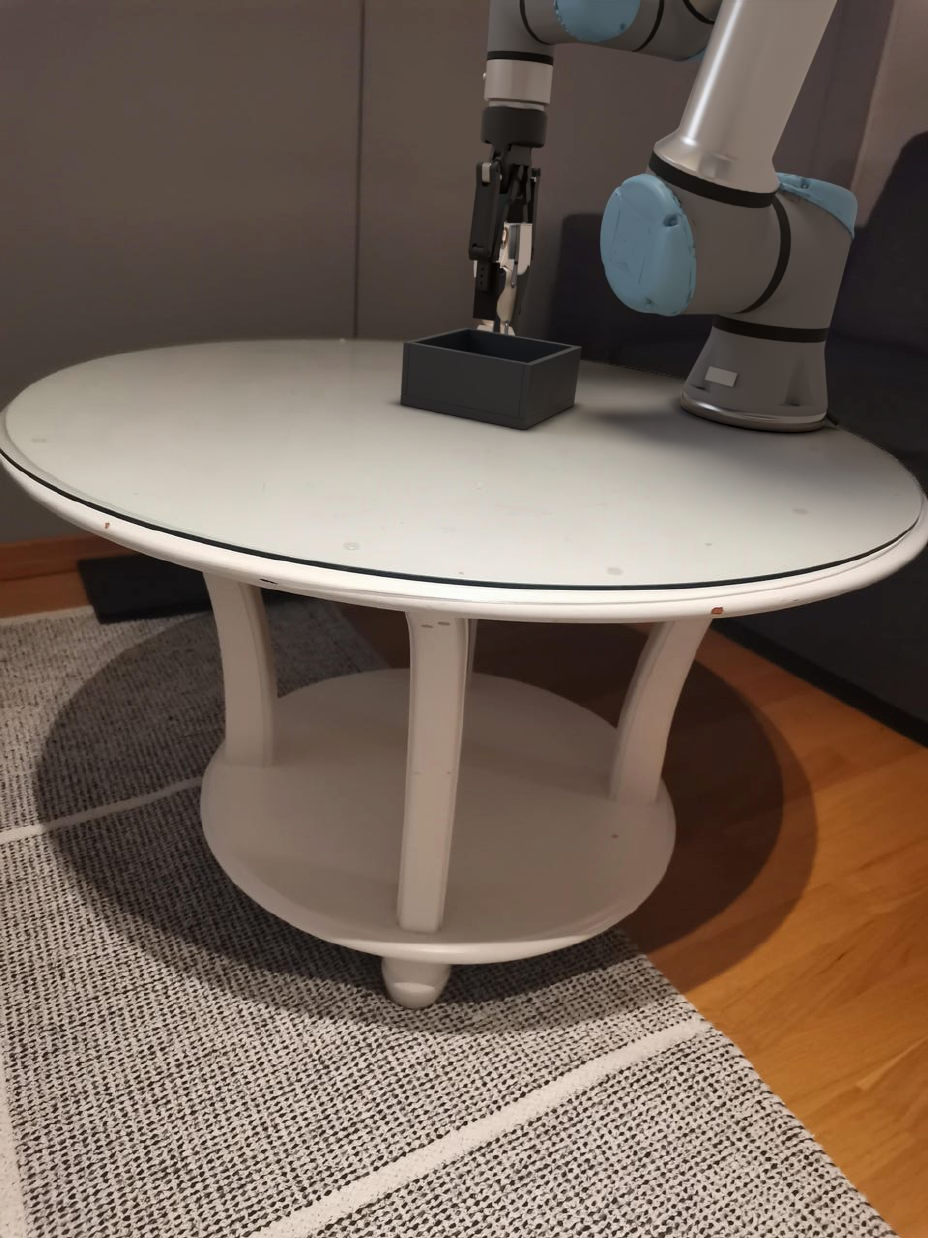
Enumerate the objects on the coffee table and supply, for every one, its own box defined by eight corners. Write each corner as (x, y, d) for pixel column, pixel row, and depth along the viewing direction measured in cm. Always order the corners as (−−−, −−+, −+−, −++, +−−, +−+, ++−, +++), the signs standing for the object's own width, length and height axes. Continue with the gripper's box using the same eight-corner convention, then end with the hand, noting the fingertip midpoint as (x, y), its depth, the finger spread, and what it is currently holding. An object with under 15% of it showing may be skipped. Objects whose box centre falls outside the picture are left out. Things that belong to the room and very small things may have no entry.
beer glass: (520, 346, 122) (533, 221, 116) (522, 356, 116) (536, 224, 109) (467, 342, 122) (476, 217, 116) (466, 351, 116) (476, 219, 109)
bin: (574, 404, 99) (582, 346, 96) (523, 430, 88) (531, 365, 85) (460, 382, 104) (465, 326, 101) (399, 404, 93) (403, 341, 90)
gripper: (520, 113, 117) (502, 305, 127) (446, 96, 101) (432, 319, 110) (576, 116, 114) (554, 313, 124) (510, 100, 98) (490, 328, 108)
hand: (497, 315), depth 117 cm, fingers closed on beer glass, 7 cm apart
